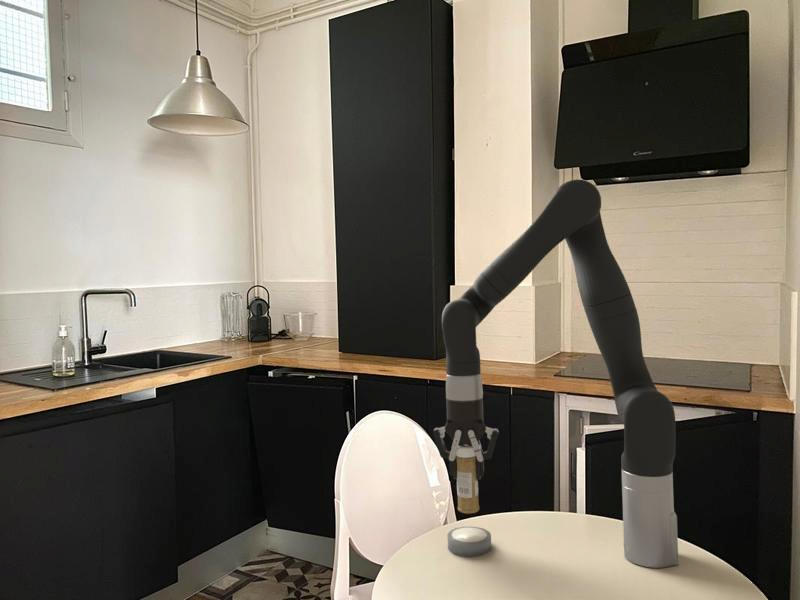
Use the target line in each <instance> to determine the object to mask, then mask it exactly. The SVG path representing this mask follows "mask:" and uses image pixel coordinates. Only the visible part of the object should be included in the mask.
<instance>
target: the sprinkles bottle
mask: <svg viewBox="0 0 800 600" xmlns="http://www.w3.org/2000/svg"><path fill="white" fill-rule="evenodd" d="M476 461H477V457H476V454H475V452H474V449H473V446H469V445H462V446H458V448H457V451H456V467H457V470H456V473H457V479H456V492H457V493H456V495H457V511H458V512H460V513H462V514H475V513H477V512H478V511H479V510H480V505H479V504H480V503H479V482H478V481H479V479H477V467H476Z"/></svg>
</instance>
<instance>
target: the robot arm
mask: <svg viewBox="0 0 800 600" xmlns="http://www.w3.org/2000/svg"><path fill="white" fill-rule="evenodd" d="M601 209H602V196H601V193H600V191H599V190H598V188H597V186H595V185H594V184H593V183H592V182H590V181H588V180H585V179H571V180H568V181H566V182H564V183H562V184H561V185H560V186H559V187H557V189H556V190H555V192H554V194H553V196H552V197H551V199H550V201H549V202H548V203H547V205H546V206H545V207H544V209H543V210H542V212H541V213H539V215H538V216H537V218H536V219H534V221H533V222H532V224H531V225H530V226H529V227H528V228H527V229H526V230H525V231H524V232H523V233H522V234H521V235H520V236H519V237H517V239H516V240H514V241H513V242H512V243H511V244H510V245H509V246H508V247H507V248H506V249H505V250H503V251H502V252H501V253H500V254H499V255H498V256H497V257H495V259H494V260H493V261H491V263H490V264H489V265H488V266H487V267H485V269H483V271H482V272H481V273H480V274H479V275H478V276H477V277H476V278H475V280H474V281H473V284H472V285H471V286H470V287H469V288H468V289H467V290H466V291H465V292H463V294H461V296H460V297H458V298H457V299H454V300H451V301H450V302H448V303H447V304H446V305H445V307H444V308H443V310H442V313H441V330H442V336H443V341H444V346H445V353H446V354H445V365H446V366H445V367H446V368H445V370H446V379H445V400H446V402H445V403H446V404H445V405H446V423H445V425H444V426H441V427H438V426H437V427H435V428H434V429H433V431H432V435H433V438H434V440H435V441H434V442H435V445H436V448H437V450H438V453H439V456H440V458H442V459H444V458H445V459H447V460H448V462H449V465H448V467H449V475H450V476H451V477H452V479H453V480H457V473H456V470H457V467H456V451H457V448H458V446H462V445H469V446H473V449H474V452H475V454H476V457H477V458H476V459H477V461H476V467H477V479H478V481H479V480H482V479H481V478H483V477H484V474H485V460H490V459H492V458H493V454H494V451H495V447H496V444H497V439H498V436H499V429H498V428H497V427H495V428H492V427H488V426H487V424H486V423H485V420H484V400H483V399H484V397H483V396H484V389H483V383H482V382H483V381H482V375H481V356H480V355H481V353H480V350H479V348H478V346H477V327H478V326H479V325H480V324H481V323H482V321H484V319H485V318H487V316H489V314H490V313H491V312H492V311H493V310H494V308H496V306H497V305H499V304H500V303H501V302H503V300H505V299H506V298H507V297H508V296H509V295H510V294H511V293H512V292H513V291H514V290H515V289H516V288H517V287H519V285H520V284H521V283H522V282H524V280H525V279H526V278H527V277H528V276H529V275H530V274H531V273H532V271H533V270H534V269H535V268H536V267H537V266H538V265H539V264H540V263H541V261H543V259H545V257H546V256H548V255H549V253H550V252H551V251H552V250H553V249H554V248H555V247H556V246H558V245H559V244H561V243H562V242H563V241H564V240H565V242H566V244H567V247H568V250H569V251H570V254H571V257H572V263H573V266H574V272H575V276H576V277H575V278H576V282H577V287H578V291H579V296H580V299H581V303H582V306H583V309H584V312H585V315H586V319H587V321H588V324H589V326H590V329H591V333H592V335H593V337H594V340H595V342H596V345H597V347H598V350H599V353H600V354H601V356H602V358H603V361H604V363H605V366H606V369H607V372H608V376H609V380H610V385H611V388H612V389H611V390H612V393H613V398H614V402H615V409H616V412H617V416H618V418H619V420H621V422H622V423H623V433H624V434H623V435H624V437H623V441H624V443H623V445H624V446H623V448H624V449H623V452H622V454H621V457H620V458H621V459H620V460H621V461H620V462H621V463H620V464H621V465H620V466H621V495H622V496H621V497H622V523H623V529H622V530H623V551H624V552H623V554H624V557H625V559H626V560H628V561H629V562H630V563H633V564H635V565H639V566H642V567H647V568H656V569H657V568H658V569H659V568H660V569H661V568H668V567H671V566H679V547H678V546H679V545H678V542H679V541H678V516H677V514H676V512H675V507H674V504H675V503H674V477H673V476H674V473H673V472H674V471H673V469H674V467H673V464H674V460H675V458H676V442H677V441H676V438H677V437H676V433H677V430H676V429H677V428H676V414H675V413H676V411H675V409H674V405H673V403H672V402H671V400H670V399H669V398H668V397H667V396H666V395H665V394H664V393H662V392H660V391H658V389H657V387H656V385H655V383H654V381H653V379H652V377H651V373H650V371H649V370H648V366H647V364H646V361H645V358H644V353H643V347H642V346H643V344H642V333H641V324H640V319H639V314H638V309H637V307H636V304H635V301H634V298H633V294H632V293H631V289H630V286H629V285H628V282H627V280H626V277H625V275H624V273H623V270H622V269H621V267H620V265H619V263H618V262H617V260H616V257H615V256H614V254H613V252H612V250H611V248H610V245H609V242H608V240H607V236H606V232H605V228H604V224H603V221H602V220H603V219H602V214H601ZM445 433H447V435H448V436H449V437H450V439H451V440H452V444H451V448H450V450H448V449H447V447H446V442H445V441H444V437H445ZM485 433H486V434H487V439H488V440H489V443H488V447H487V450H486V451H483V449H482V443H481V441H480V440H481V438H482V436H483V435H485Z"/></svg>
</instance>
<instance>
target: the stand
mask: <svg viewBox="0 0 800 600" xmlns="http://www.w3.org/2000/svg"><path fill="white" fill-rule="evenodd" d="M446 536H447V549H448V551H449V552H450V553H451V554H454V555H456V556H461V557H467V558H470V557H471V558H473V557H479V556H480V557H481V556H484V555H486V554H488V553H489V552H491V550H492V534H491V532H490V531H488V530H487V529H484V528H482V527H477V526H460V527H455V528H453V529H451V530H450V531H448V533H447V535H446Z"/></svg>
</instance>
